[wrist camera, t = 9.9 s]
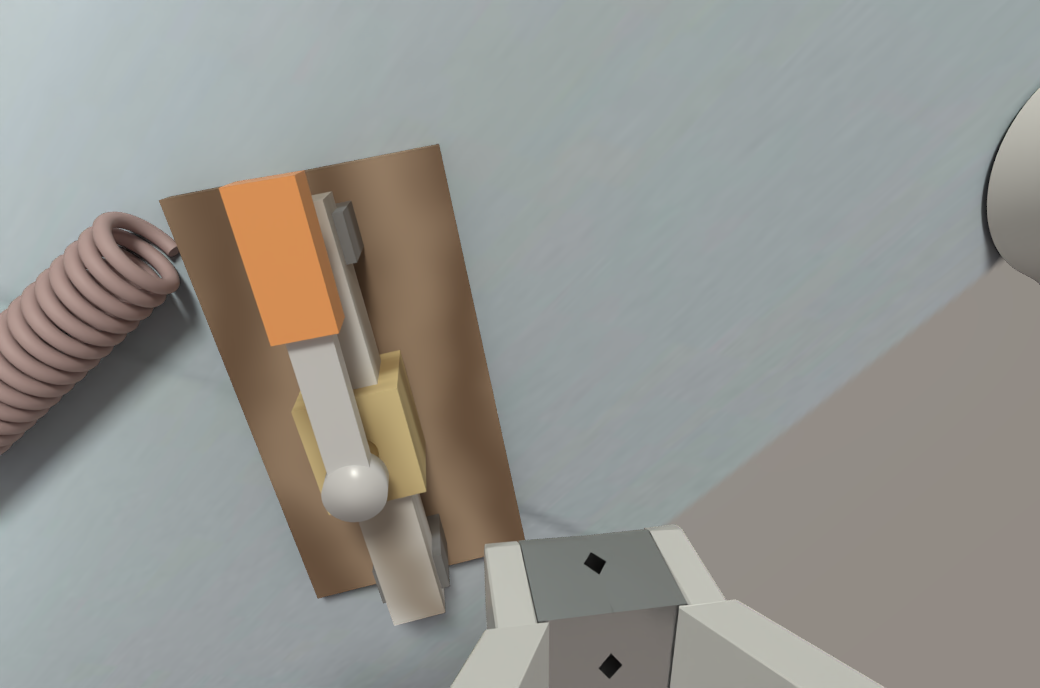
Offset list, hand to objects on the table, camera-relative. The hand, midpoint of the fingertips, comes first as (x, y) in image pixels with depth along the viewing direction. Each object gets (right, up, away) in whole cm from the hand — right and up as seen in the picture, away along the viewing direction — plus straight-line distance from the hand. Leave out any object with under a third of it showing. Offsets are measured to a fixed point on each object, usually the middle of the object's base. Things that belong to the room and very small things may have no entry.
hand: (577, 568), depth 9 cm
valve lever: (-9, +3, +16) cm, 19 cm away
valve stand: (-10, +1, +27) cm, 29 cm away
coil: (-26, +4, +24) cm, 36 cm away
